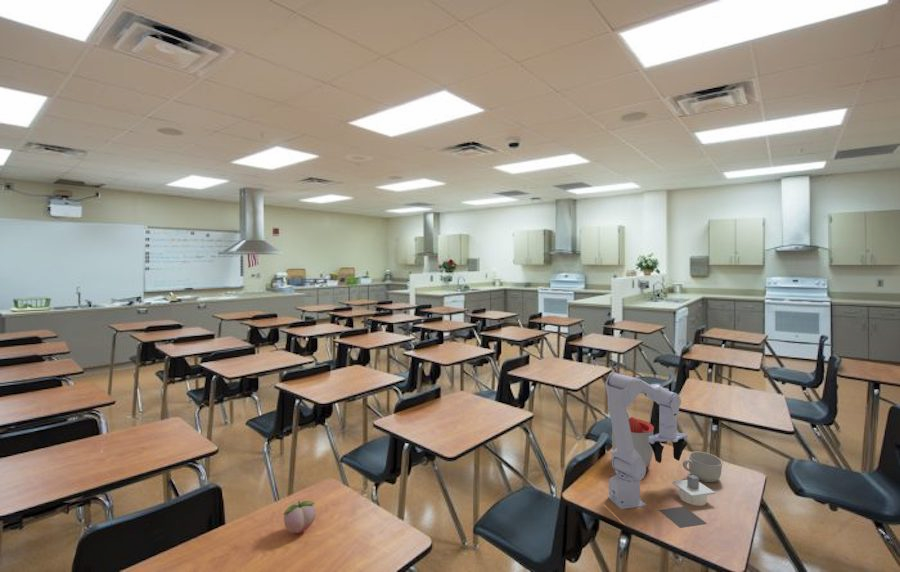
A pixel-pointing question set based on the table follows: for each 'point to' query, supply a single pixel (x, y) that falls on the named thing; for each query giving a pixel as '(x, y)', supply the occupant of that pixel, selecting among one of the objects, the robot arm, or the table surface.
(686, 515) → the mat
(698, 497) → the bowl
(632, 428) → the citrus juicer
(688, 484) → the lid
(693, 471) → the teacup
